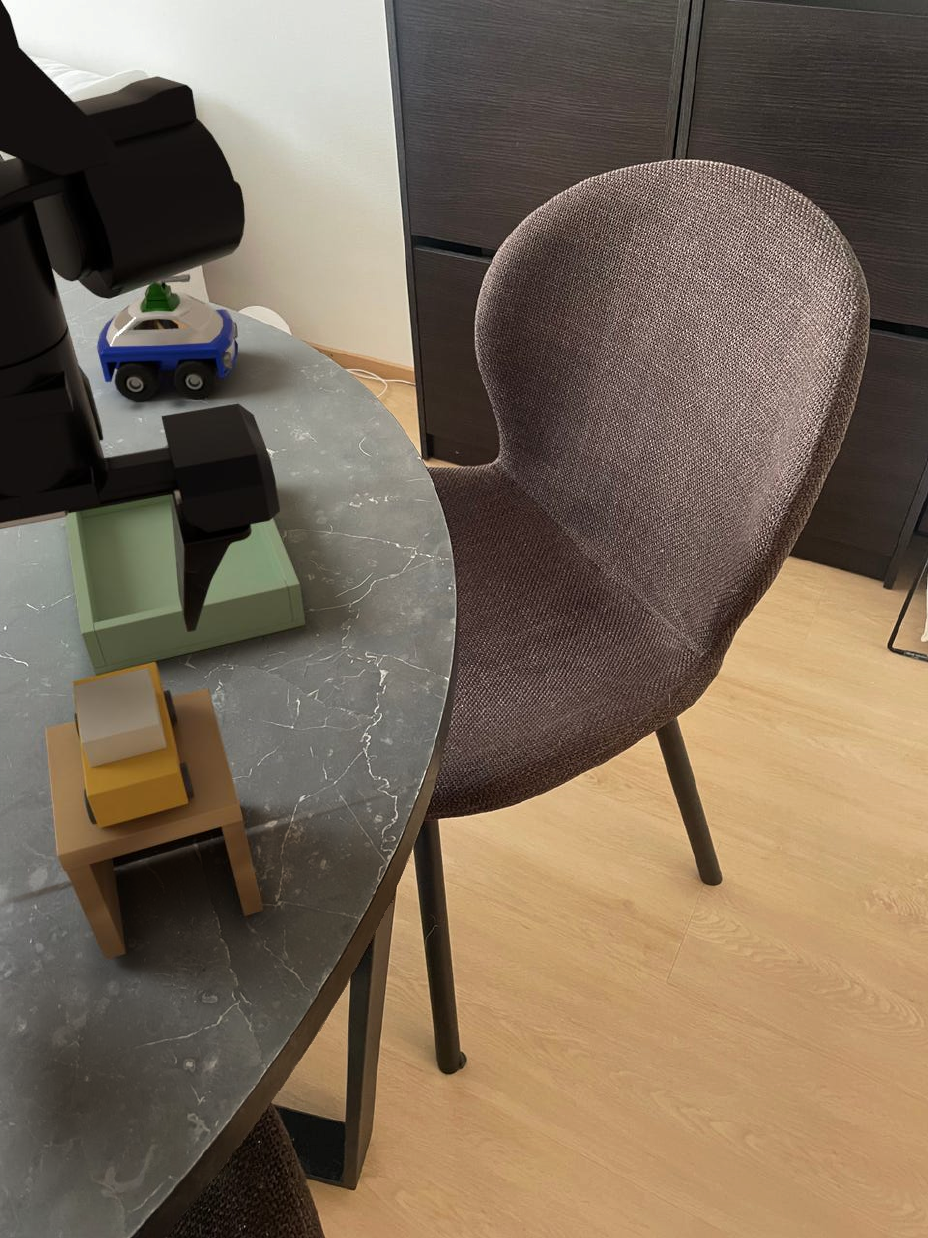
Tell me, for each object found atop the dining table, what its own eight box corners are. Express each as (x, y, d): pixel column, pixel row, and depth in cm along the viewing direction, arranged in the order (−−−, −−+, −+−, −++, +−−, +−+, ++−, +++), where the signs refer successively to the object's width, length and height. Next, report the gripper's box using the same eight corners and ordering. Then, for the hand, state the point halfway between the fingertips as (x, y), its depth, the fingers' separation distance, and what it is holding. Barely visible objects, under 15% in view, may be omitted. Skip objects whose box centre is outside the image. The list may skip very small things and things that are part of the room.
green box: (95, 675, 64) (81, 633, 61) (72, 521, 76) (59, 481, 73) (305, 625, 67) (299, 583, 65) (250, 485, 79) (244, 446, 77)
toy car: (236, 398, 90) (220, 296, 83) (99, 403, 89) (72, 300, 83) (245, 350, 97) (230, 253, 90) (118, 354, 96) (94, 256, 90)
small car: (197, 810, 45) (179, 744, 42) (95, 839, 43) (69, 773, 40) (173, 700, 50) (155, 634, 47) (80, 723, 48) (56, 657, 45)
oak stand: (105, 966, 49) (56, 856, 43) (90, 841, 54) (44, 728, 48) (265, 915, 51) (239, 804, 45) (234, 800, 56) (208, 687, 50)
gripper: (209, 227, 45) (257, 513, 55) (-261, 284, 40) (-113, 585, 51) (256, 335, 37) (301, 645, 47) (-323, 421, 32) (-132, 744, 43)
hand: (91, 647), depth 47 cm, fingers open, 9 cm apart
